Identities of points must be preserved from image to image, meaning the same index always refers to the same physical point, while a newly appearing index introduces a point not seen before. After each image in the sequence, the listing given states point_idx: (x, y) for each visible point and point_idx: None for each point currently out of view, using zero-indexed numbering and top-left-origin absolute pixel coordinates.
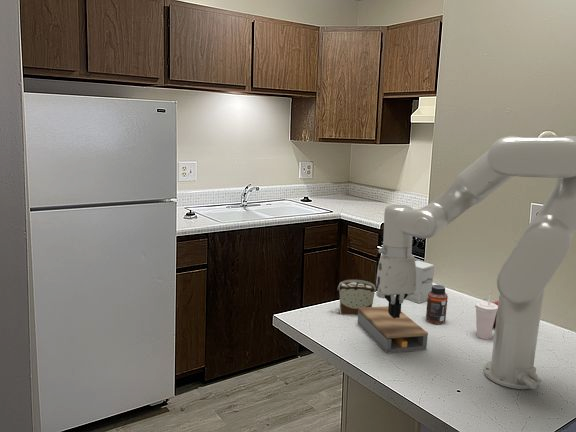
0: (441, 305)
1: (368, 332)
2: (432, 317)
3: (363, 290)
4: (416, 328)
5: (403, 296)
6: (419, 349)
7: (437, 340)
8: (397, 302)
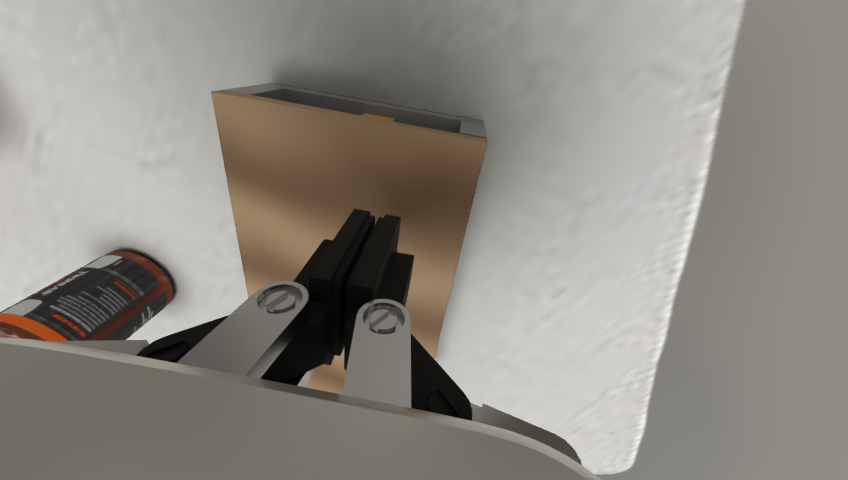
0: (45, 301)
1: None
2: (140, 280)
3: None
4: (257, 169)
5: (213, 344)
6: (306, 90)
7: (186, 141)
8: (322, 312)
